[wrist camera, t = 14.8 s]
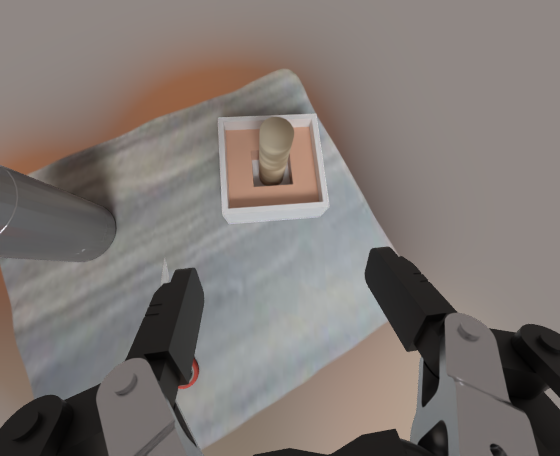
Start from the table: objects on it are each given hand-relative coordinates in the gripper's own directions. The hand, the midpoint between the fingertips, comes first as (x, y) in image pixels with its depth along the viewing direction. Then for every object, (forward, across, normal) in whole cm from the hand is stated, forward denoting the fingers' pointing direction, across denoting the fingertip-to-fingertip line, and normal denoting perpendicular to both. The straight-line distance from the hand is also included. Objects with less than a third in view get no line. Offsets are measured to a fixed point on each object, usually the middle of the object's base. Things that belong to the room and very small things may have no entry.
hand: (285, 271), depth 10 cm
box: (+29, -2, +7) cm, 30 cm away
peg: (+28, -2, +6) cm, 29 cm away
